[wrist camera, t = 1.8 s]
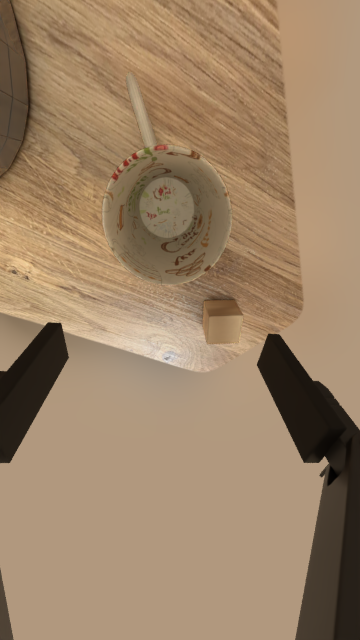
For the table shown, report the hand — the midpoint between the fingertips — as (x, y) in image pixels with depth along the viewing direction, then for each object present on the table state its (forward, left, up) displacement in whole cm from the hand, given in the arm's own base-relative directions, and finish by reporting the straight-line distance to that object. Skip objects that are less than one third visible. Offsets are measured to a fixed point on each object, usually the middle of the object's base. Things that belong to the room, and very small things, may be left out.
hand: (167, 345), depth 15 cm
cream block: (-7, +6, -14) cm, 16 cm away
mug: (0, -9, -14) cm, 16 cm away
